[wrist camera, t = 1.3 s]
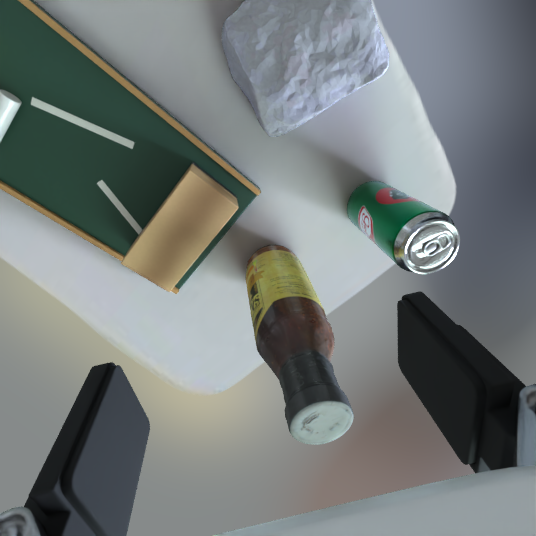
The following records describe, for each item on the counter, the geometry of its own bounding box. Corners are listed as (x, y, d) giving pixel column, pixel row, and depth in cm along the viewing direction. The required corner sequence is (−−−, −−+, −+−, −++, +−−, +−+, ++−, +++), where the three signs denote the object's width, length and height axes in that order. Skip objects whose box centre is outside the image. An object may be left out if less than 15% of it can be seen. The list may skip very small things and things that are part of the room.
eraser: (130, 245, 33) (120, 263, 29) (193, 161, 30) (189, 169, 27) (174, 273, 35) (169, 292, 31) (236, 195, 32) (239, 207, 28)
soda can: (336, 199, 35) (387, 242, 24) (378, 169, 34) (451, 200, 23) (358, 235, 37) (414, 290, 26) (399, 208, 36) (474, 253, 25)
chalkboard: (-96, 119, 27) (-114, 120, 26) (-24, -47, 23) (-40, -57, 22) (178, 286, 37) (176, 294, 35) (259, 188, 33) (261, 192, 32)
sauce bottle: (236, 253, 36) (251, 400, 18) (291, 234, 36) (360, 365, 18) (255, 301, 39) (284, 467, 21) (306, 284, 39) (378, 437, 21)
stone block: (210, 41, 29) (269, 147, 31) (203, 15, 24) (273, 142, 27) (332, -41, 28) (383, 76, 30) (348, -84, 23) (407, 59, 26)
